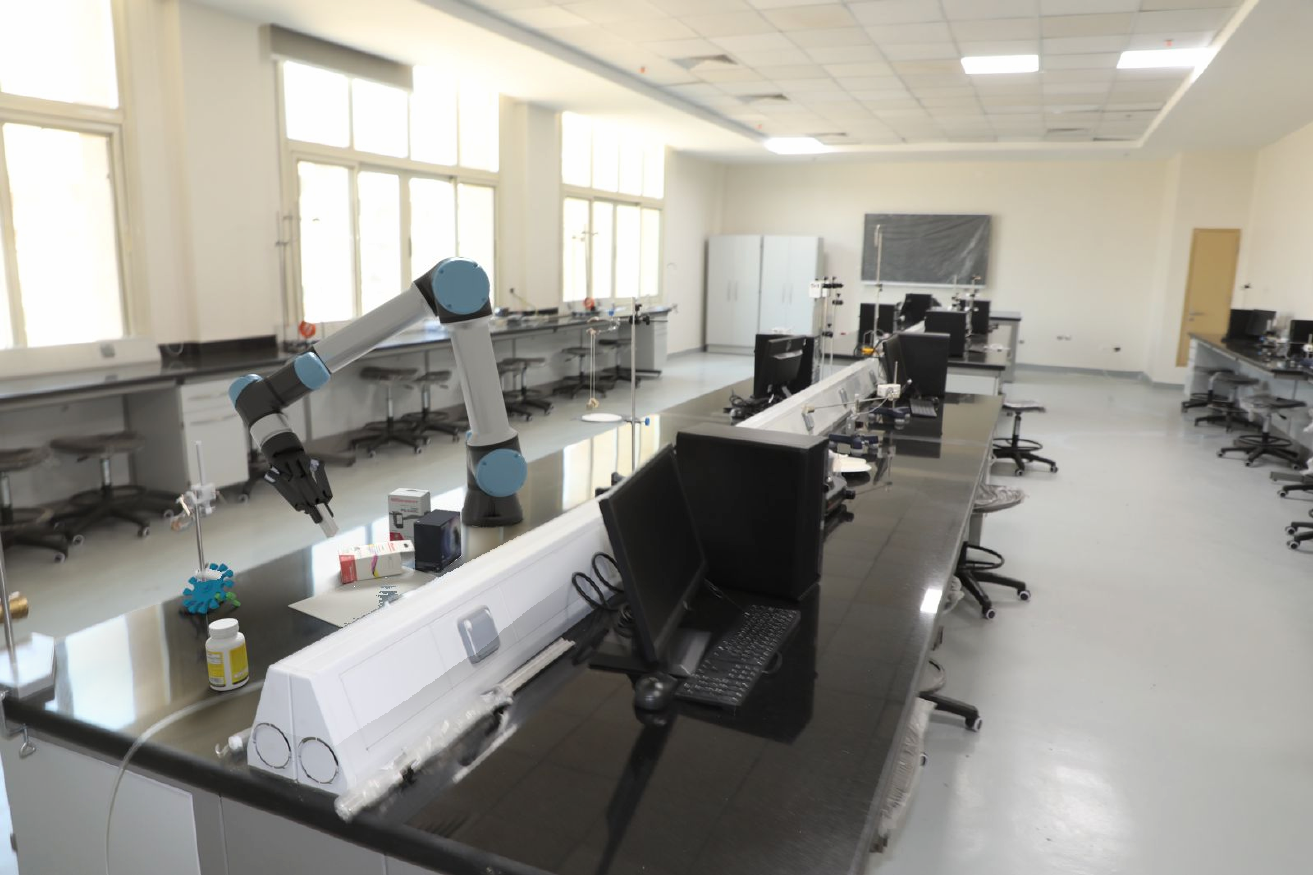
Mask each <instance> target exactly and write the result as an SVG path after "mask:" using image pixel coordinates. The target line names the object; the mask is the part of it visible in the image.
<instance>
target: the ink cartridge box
mask: <svg viewBox="0 0 1313 875" xmlns="http://www.w3.org/2000/svg"><path fill="white" fill-rule="evenodd" d="M405 545H406V546H407V547H406V546H405ZM337 551H338V560H339V565H340V566H339V568H340V570H339V571H340V575H341V583H342V584H348V583H352V582H355V581H360V580H365V579H371V578H377V577H383V576H389V575H396V574H402V566H403V565H402V556H401V553H410V552H411V553H412V552H414V551H415V549H414V545H413V544H412V542H411V540H402V541H390V540H389V541H385V542H384V541H383V542H377V543H372V544H371V543H370V544H365V545H364V544H363V545H358V546H357V545H356V546H351V547H343V548H338V549H337ZM401 565H402V566H401Z"/></svg>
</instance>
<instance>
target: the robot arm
mask: <svg viewBox="0 0 1313 875" xmlns="http://www.w3.org/2000/svg"><path fill="white" fill-rule="evenodd" d="M490 291H491V282H490V280H489V277H488V275H487V272H486V271H485V270H484V269H483V267H482V266H481V265H480V264H479V263H477V262H476V261H475V260H473V259H470V258H468V257H465V256H457V257H456V256H455V257H448V258H444V259H442V260H440V261H438V262H437V263H436V264H435V265H434V266H433V267H431V268H430V269H428V270H427V271H426V272H425V273H424V274H422V275H421V276H419V277H418V278H417V279H414V280H413V281H412V282H411V284H410V287H409V288H408V289H407V290H405V291H403V292H401V293H400V294H398V295H396V296H394V297H393V298H391V299H389V300H387V301H385V302H384V303H382V304H380V305H379V306H377V307H375V308H374V309H372V310H370V311H368V312H367V313H365V314H364V315H362V316H360V317H359V318H357V319H355V320H354V321H351V322H350V323H347V325H345V326H342V327H341V328H339V329H337V330H336V331H335V332H333V333H331V334H330V335H327V336H326V337H324V338H322V339H320V340H319V341H317V342H315V343H314V344H312V345H311V346H309V347H307V348H305V349H304V350H302V351H300V352H297V353H295V354H293V355H291V356H290V357H288V358H287V360H286V361H285V364H284V366H282V367H281V368H279V369H278V370H277V369H276V371H274V372H273V373H271V374H269V375H268V376H266V377H263V378H262V376H260V375H258V374H253V373H252V374H247V375H245V376H240V377H239V378H237V379H235V380H234V381H233V382H232V383H231V384H230V386H229V387H228V392H227V393H228V396H229V398H230V400H231V402H232V404H233V407H234V410H235V411H236V412H237V414H238V416H239V417H240V418H241V420H242V421H243V423H244V425H245V426H246V428H247V431H249V433H250V435H251V436H252V438H253V440H254V442H255V443H256V445H257V447H258V448H259V449H260V453H262V456H263V457H264V459H265V461H266V462H267V464H268V465H269V466H270V467H269V470H267V472H266V473H265V474H264V477H263V480H264V482H266V483H267V484H270V485H271V486H273V487H274V488H275V490H277V492H278V493H279V494H280V495H281V496H282V497H283V498H284V500H286V502H287V503H288V504H289V505H290V506H291V507H292V508H293V509H294V511H296V512H300V513H301V512H302V511H303V514H305V515H309V516H310V517H311V519H312V521H313V523H314V524H315V525H319V526H320V529H321V531H322V532H323V533H324V535H325V537H326V539H330V538H333V537H335V536H336V534H337V533H338V531H339V530H340V528H339V527H338V526H339V525H337V523H336V521H335V520H334V513H333V511H332V509H331V507H330V506H329V504H330V502H331V501H332V499H333V497H334V495H333V491H332V488H331V486H330V483H329V479H328V477H327V473H326V470H325V466H326V465H325V464H326V462H325V460H324V459H323V458H319V459H318V460H315V459H313V458H312V457H311V456H310V455H309V454H307V453H306V451H305V448H304V444H303V443H302V442H301V440H300V438H299V436H298V435H297V433H295V430H294V428H293V426H292V425H291V423H290V422H289V420H288V419H287V416H286V415H285V414H284V412H283V411H284V410H285V409H287V408H289V407H290V406H292V405H293V404H295V403H297V402H298V401H300V400H302V399H303V398H306V397H307V396H308V395H310V394H312V393H313V392H315V391H319V390H320V389H321V388H322V387H323V386H324V385H326V384H328V383H329V382H330V380H331V375H332V374H334V373H336V372H337V371H339V370H341V369H342V368H344V367H345V366H347V365H349V364H350V363H353V362H355V361H356V360H358V359H359V358H360V357H362V356H365V355H366V354H368V353H369V352H371V351H373V350H374V349H377V348H378V347H381V345H383V344H384V343H386V342H388V341H390V340H392V339H393V338H395V337H397V336H399V335H400V334H401V333H403V332H405V331H407V330H409V329H410V328H413V327H414V326H416V325H417V324H419V323H421V322H422V321H424V320H426V319H428V318H433V319H436V318H438V320H439V324H440V325H441V326H442V327H443V328H445V329H446V330H447V331H448V333H449V336H450V342H451V345H452V349H453V356H454V359H455V363H456V369H457V372H458V376H459V377H458V378H459V381H460V385H461V387H460V388H461V391H462V395H463V400H464V404H465V409H466V412H467V414H466V415H467V417H468V423H469V426H470V429H469V430H467V431H466V433H465V440H464V444H465V456H466V460H465V461H466V482H467V485H466V487H467V489H466V494H465V498H464V502H463V507H462V508H461V511H460V514H461V523H462V524H464V525H467V526H469V527H474V528H500V527H506V526H510V525H513V524H517V523H519V522H521V521H522V520H523V518H524V514H523V507H522V504H520V499H519V496H518V491H519V490H520V489H521V488H522V487H523V486H524V484H525V482H526V480H527V478H528V463H527V461H526V459H525V457H524V456H523V453H522V449H521V444H520V440H519V439H520V438H519V434H518V431H517V430H515V428H512V427H511V426H510V424H509V419H508V414H507V409H506V404H505V400H504V395H503V391H502V390H503V389H502V385H501V382H500V376H499V375H500V374H499V371H498V367H497V366H498V365H497V361H496V357H495V352H494V347H493V342H492V338H491V333H490V328H489V322H490V320H491V319H492V317H493V316H494V315H493V314H494V313H493V310H492V303H491V298H490ZM522 517H523V518H522ZM521 519H522V520H521ZM516 522H517V523H516Z"/></svg>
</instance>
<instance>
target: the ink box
mask: <svg viewBox="0 0 1313 875" xmlns="http://www.w3.org/2000/svg"><path fill="white" fill-rule="evenodd" d="M431 501H432V500H431V491H430V490H427V489H416V488H404V487H403V488H402V487H399V488H396V489H395V490H393V491H391V492H389V493H388V494H387V504H388V506H387V507H388V510H387V511H388V532H389V542H390V541H402V540H411V542H412V544H413V546H414V527H413V523H414V522H415V521H417V520H419V519H420V518H422V517H423V516H425V515H427V514H428V513H430V512H431V511H432V508H431V507H432V505H431Z"/></svg>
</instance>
